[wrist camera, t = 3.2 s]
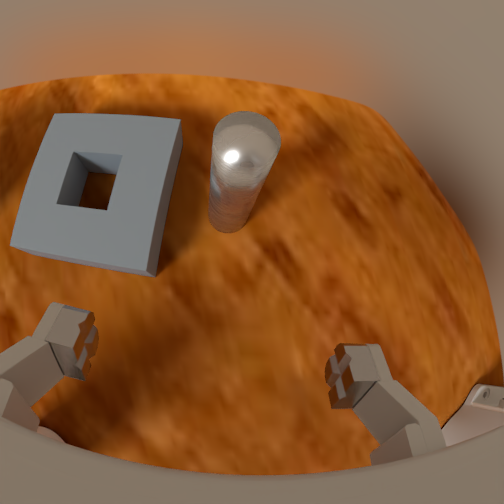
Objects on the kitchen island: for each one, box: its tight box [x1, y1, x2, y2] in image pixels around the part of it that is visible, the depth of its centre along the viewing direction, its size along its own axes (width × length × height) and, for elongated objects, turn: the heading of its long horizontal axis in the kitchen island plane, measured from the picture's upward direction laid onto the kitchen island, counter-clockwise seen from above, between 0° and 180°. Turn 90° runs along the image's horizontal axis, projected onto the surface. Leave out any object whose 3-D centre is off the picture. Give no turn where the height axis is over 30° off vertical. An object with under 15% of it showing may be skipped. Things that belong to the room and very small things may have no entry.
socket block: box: [10, 113, 183, 277], centre depth 22 cm, size 12×12×4 cm
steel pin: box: [208, 111, 281, 233], centre depth 20 cm, size 3×3×12 cm
